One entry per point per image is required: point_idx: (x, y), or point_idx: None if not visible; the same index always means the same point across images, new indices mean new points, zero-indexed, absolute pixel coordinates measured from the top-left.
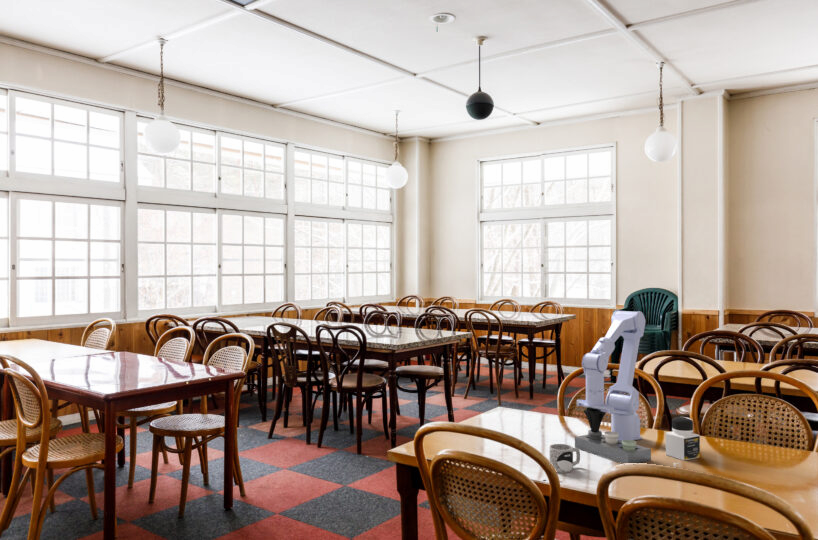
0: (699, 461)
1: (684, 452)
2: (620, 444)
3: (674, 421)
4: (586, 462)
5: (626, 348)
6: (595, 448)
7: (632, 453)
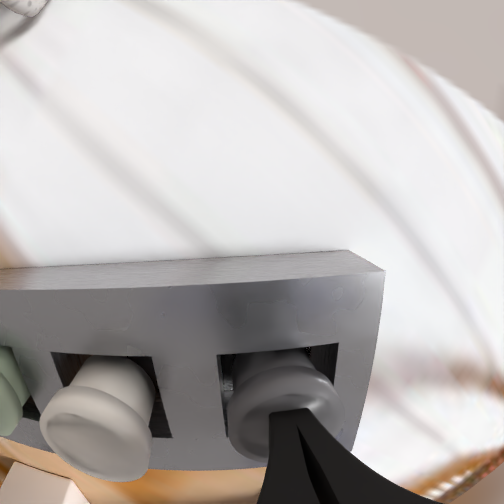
0: None
1: (6, 477)
2: None
3: None
4: (59, 95)
5: None
6: (140, 274)
7: None
